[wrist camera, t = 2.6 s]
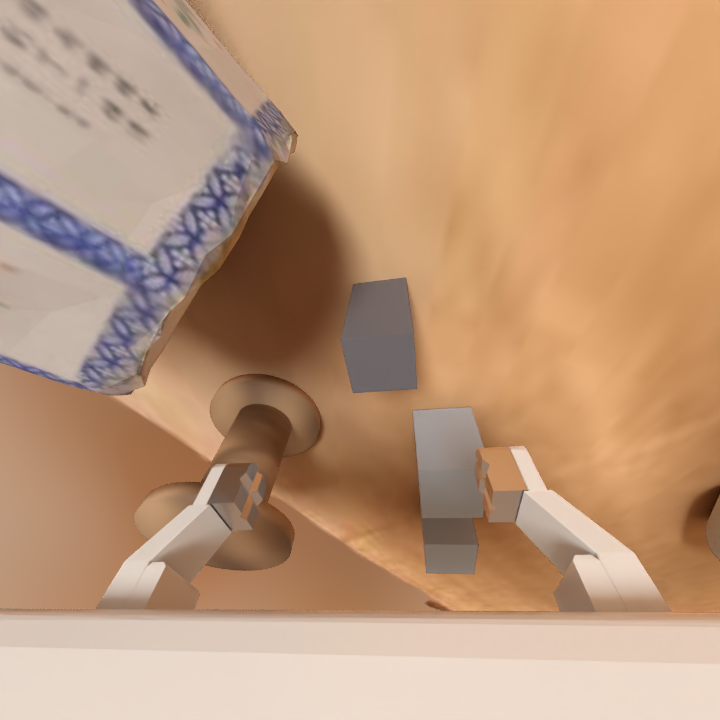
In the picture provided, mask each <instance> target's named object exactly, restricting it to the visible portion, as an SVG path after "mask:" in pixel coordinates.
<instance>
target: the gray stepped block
mask: <svg viewBox="0 0 720 720" xmlns="http://www.w3.org/2000/svg"><path fill="white" fill-rule="evenodd" d="M413 421H414V433H415V446H416V458H417V471H418V483H419V496H420V508H421V520H422V531H423V542H424V553H425V564H426V573H436V574H474V572H475V565H476V559H477V552H478V546H479V544H478V540H477V535H476V531H475V526H474V522H473V518H483V513H484V506H483V494H482V493H481V492H480V491H479V490H478V486H477V482H476V478H475V463H476V462H477V458H476V450H477V448H484V446H483V443H482V439H481V436H480V433H479V430H478V427H477V424H476V421H475V417H474V414H473V411H472V408H471V407H462V408H445V409H429V410H413Z"/></svg>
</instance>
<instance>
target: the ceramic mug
mask: <svg viewBox="0 0 720 720" xmlns="http://www.w3.org/2000/svg"><path fill="white" fill-rule="evenodd" d="M706 538H707V542H708V545H709V547H710V549H711V550H712V552H713V553H714V555H715V556H716V557H717V558H718V559H719V561H720V494H719V497H718V499H717V501H716V503H715V506H714V508H713V510H712V513H711V515H710V517H709V519H708V521H707V524H706Z"/></svg>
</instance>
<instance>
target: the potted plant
mask: <svg viewBox="0 0 720 720" xmlns="http://www.w3.org/2000/svg"><path fill="white" fill-rule="evenodd" d="M297 137H298V135H297V133H296V132H295V131H294V129H293V128H292V127H291V125H290V124H289V123H288V121H287V120H286V119H285V117H284V116H283V115H282V113H281V112H280V111H279V110H278V108H277V107H276V106H275V105H274V104H273V103H272V102H271V101H270V99H269V98H268V97H267V96H266V95H265V94H264V92H263V91H262V90H261V89H260V88H259V87H258V86H257V84H256V83H255V82H254V81H253V80H252V79H251V77H250V76H249V75H248V74H247V73H246V72H245V70H244V69H243V68H242V67H241V66H240V65H239V63H238V62H237V61H236V60H235V59H234V58H233V56H232V55H231V54H230V53H229V52H228V50H227V49H226V48H225V47H224V46H223V44H222V43H221V42H220V41H219V40H218V38H217V37H216V36H215V35H214V34H213V32H212V31H211V30H210V29H209V28H208V26H207V25H206V24H205V23H204V22H203V20H202V19H201V18H200V17H199V15H198V14H197V13H196V12H195V11H194V9H193V8H192V7H191V6H190V5H189V3H188V2H187V1H186V0H0V363H3V364H6V365H10V366H13V367H16V368H18V369H21V370H24V371H27V372H30V373H33V374H36V375H39V376H42V377H45V378H48V379H51V380H54V381H58V382H60V383H63V384H66V385H70V386H74V387H78V388H81V389H85V390H89V391H93V392H98V393H101V394H105V395H129V394H131V393H132V392H133V391H134V390H135V389H138V388H141V387H144V386H145V384H146V381H147V378H148V375H149V372H150V369H151V367H152V366H153V364H154V363H155V361H156V360H157V358H158V357H159V355H160V354H161V353H162V351H163V349H164V348H165V346H166V344H167V342H168V340H169V338H170V337H171V335H172V333H173V331H174V330H175V328H176V326H177V325H178V323H179V321H180V320H181V318H182V316H183V315H184V313H185V311H186V310H187V308H188V306H189V305H190V303H191V301H192V300H193V298H194V296H195V295H196V293H197V291H198V290H199V288H200V287H201V285H202V284H203V283H204V282H206V281H207V280H208V279H209V278H210V277H211V276H212V275H213V274H215V273H216V272H217V271H218V270H219V269H220V267H221V266H222V264H223V263H224V261H225V260H226V258H227V256H228V255H229V253H230V252H231V250H232V249H233V247H234V245H235V244H236V242H237V241H238V239H239V237H240V236H241V233H242V231H243V229H244V226H245V224H246V222H247V219H248V217H249V215H250V214H251V212H252V211H253V209H254V207H255V206H256V204H257V202H258V201H259V199H260V198H261V196H262V194H263V192H264V191H265V189H266V187H267V185H268V183H269V182H270V180H271V178H272V176H273V175H274V173H275V171H276V169H277V168H278V167H280V166H282V165H284V164H286V163H288V158H289V155H290V154H292V153H294V151H295V148H296V144H297Z"/></svg>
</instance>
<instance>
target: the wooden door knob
mask: <svg viewBox="0 0 720 720" xmlns="http://www.w3.org/2000/svg"><path fill="white" fill-rule="evenodd" d="M210 415H211V419H212V421H213V423H214V425H215V427H216V428H217V429H218V431H219V432H220V433H221V434H222V435H223V436H224V437H225V439H224V441H223V442H222V444H221V446H220V448H219V450H218V452H217V453H216V455H215V457H214V459H213V461H212V463H211V464H210V466H209V468H208V470H207V472H206V474H205V476H204V477H203V479H202V481H201V483H200V482H179V483H171V484H166V485H163V486H160V487H158V488H156V489H154V490H152V491H151V492H150V493H149V494H148V495H147V497H146V498H145V499H144V501H143V502H142V504H141V505H140V507H139V508H138V510H137V511H136V513H135V516H134V522H135V525H136V527H137V529H138V530H139V532H140V533H141V534H142V535H143V536H144V537H145V538H146V539H148V540H150V539H151V538H152V537H153V536H154V535H155V534H157V533H158V532H159V531H160V530H161V529H162V528H164V527H165V526H166V525H167V524H168V523H169V522H170V521H172V520H173V519H174V518H175V517H176V516H177V515H178V514H180V513H181V512H182V511H183V510H184V509H185V508H186V507H188V506H189V505H193V503H194V501H195V499H196V498H197V496H198V494H199V492H200V490H201V488H202V486H203V484H204V482H205V480H206V479H207V477H208V475H209V473H210V471H211V469H212V468H213V467H214V466H215V465H216V464H228V463H256V465H257V466H258V471H257V472H259V473H260V474H262V475H263V477H264V478H265V482H266V490H265V495H264V498H263V500H262V502H261V503H260V504H259V505H258V506H257V507H258V509H259V514H258V517H257V520H256V523H255V526H254V529H253V530H239V531H231V532H232V533H231V534H230V535H229V536H228V538H227V539H226V540H225V541H224V542H223V544H222V545H221V546H220V547H219V549H218V550H217V551H216V552H215V553H214V555H213V556H212V557H211V558H210V559H209V561H208V562H207V563H206V564H205V565H206V566H211V567H216V568H222V569H229V570H243V571H246V570H262V569H268V568H272V567H275V566H278V565H280V564H282V563H283V562H285V561H286V560H287V559H288V558H289V556H290V553H291V549H292V545H293V541H294V534H295V532H294V528H293V526H292V524H291V522H290V521H289V520H288V518H287V517H286V516H285V515H284V514H283V513H282V512H280V511H279V510H278V509H276V508H275V507H274V506H272V505H271V504H269V503H268V500H269V497H270V494H271V491H272V488H273V485H274V482H275V479H276V476H277V473H278V470H279V467H280V463H281V460H282V457H287V456H293V455H296V454H299V453H302V452H304V451H306V450H307V449H309V448H310V447H311V446H312V445H313V444H314V443H315V441H316V439H317V436H318V433H319V429H320V423H321V420H320V414H319V411H318V408H317V406H316V405H315V403H314V402H313V400H312V399H311V398H310V397H309V396H308V395H307V394H306V393H305V392H304V391H302V390H301V389H300V388H298V387H297V386H295V385H293V384H291V383H289V382H287V381H285V380H282V379H280V378H276V377H273V376H268V375H260V374H248V375H241V376H238V377H235V378H232V379H230V380H228V381H227V382H225V383H224V384H223V385H222V386H221V387H220V388H219V390H218V391H217V393H216V394H215V395H214V397H213V399H212V401H211V404H210Z"/></svg>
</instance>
